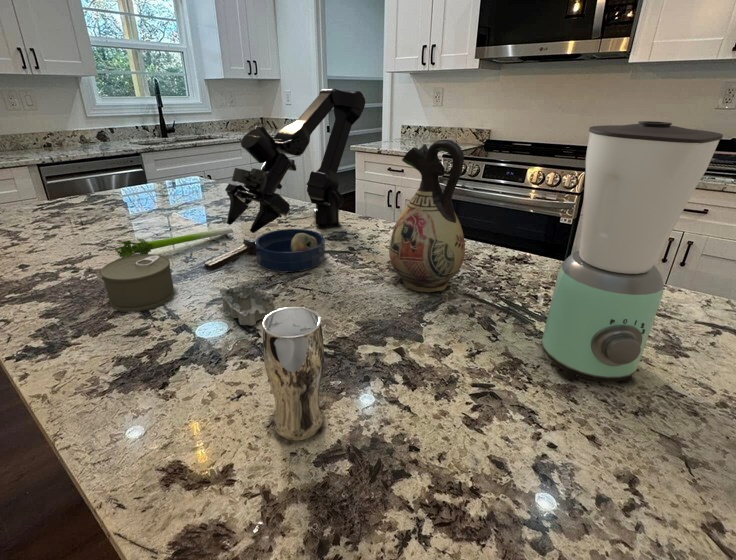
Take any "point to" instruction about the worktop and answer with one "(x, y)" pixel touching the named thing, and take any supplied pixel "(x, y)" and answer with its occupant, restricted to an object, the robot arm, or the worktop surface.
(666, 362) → the worktop surface
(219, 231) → the celery stalk
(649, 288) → the blender
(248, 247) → the dark brown piece
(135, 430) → the worktop surface
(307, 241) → the apple
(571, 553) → the worktop surface
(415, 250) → the ceramic jug
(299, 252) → the bowl
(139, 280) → the can
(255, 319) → the egg carton
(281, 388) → the beer glass
